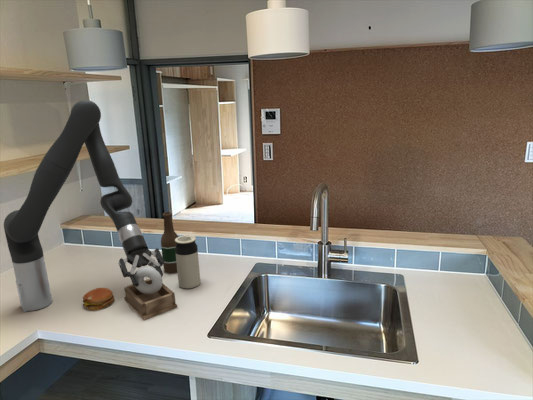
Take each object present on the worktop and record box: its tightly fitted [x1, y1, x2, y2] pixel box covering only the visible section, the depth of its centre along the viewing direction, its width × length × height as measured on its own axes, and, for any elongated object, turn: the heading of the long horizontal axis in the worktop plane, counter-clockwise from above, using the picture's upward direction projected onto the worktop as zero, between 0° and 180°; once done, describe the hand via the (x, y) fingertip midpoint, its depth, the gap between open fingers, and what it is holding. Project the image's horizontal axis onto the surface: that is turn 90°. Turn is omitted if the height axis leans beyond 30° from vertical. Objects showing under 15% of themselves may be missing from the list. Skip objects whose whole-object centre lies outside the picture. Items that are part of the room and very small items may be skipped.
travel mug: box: [175, 234, 201, 289], centre depth 149 cm, size 8×8×18 cm
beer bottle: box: [160, 211, 179, 275], centre depth 161 cm, size 8×8×24 cm
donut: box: [134, 266, 163, 295], centre depth 136 cm, size 10×3×10 cm, turn 82°
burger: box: [82, 287, 115, 312], centre depth 139 cm, size 10×9×5 cm
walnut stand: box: [123, 278, 178, 321], centre depth 138 cm, size 12×17×5 cm
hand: (149, 281), depth 135 cm, fingers closed on donut, 7 cm apart
